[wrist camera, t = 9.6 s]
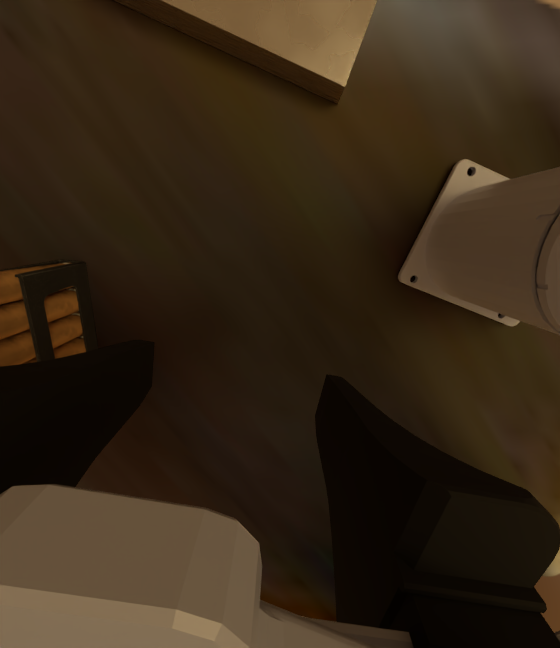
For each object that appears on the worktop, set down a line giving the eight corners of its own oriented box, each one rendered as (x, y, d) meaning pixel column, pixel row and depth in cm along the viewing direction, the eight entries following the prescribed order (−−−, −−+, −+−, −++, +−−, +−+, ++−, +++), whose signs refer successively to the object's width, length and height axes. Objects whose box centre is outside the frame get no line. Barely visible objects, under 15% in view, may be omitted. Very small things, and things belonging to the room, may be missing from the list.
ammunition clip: (104, 394, 23) (-79, 556, 11) (82, 392, 23) (-125, 553, 11) (85, 261, 19) (-203, 298, 8) (59, 259, 19) (-269, 294, 8)
